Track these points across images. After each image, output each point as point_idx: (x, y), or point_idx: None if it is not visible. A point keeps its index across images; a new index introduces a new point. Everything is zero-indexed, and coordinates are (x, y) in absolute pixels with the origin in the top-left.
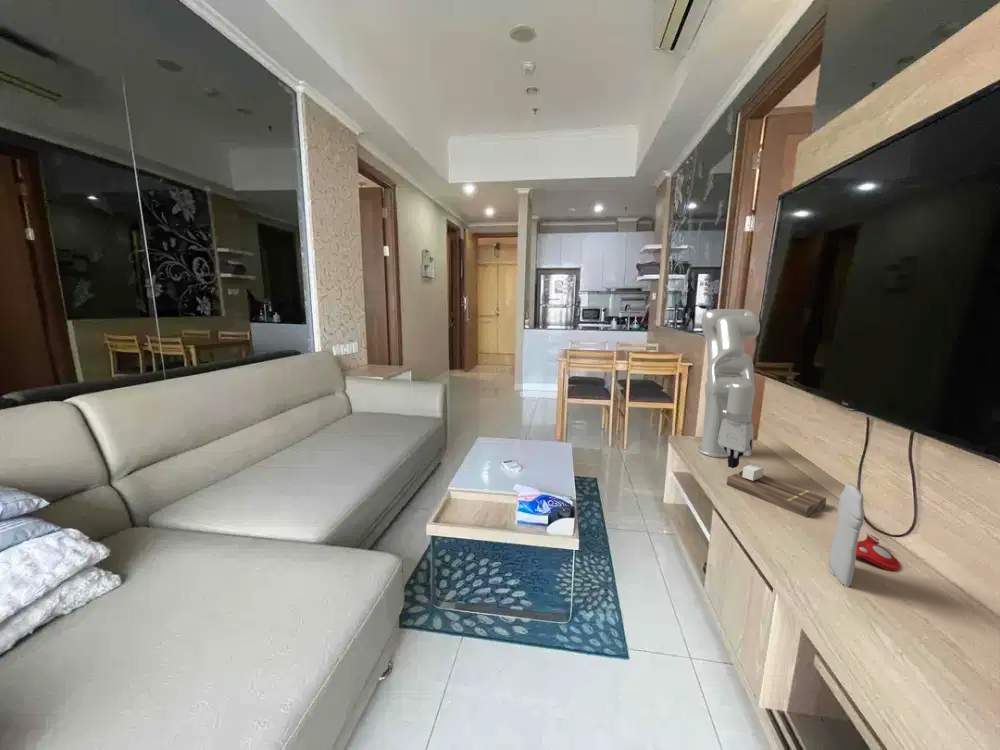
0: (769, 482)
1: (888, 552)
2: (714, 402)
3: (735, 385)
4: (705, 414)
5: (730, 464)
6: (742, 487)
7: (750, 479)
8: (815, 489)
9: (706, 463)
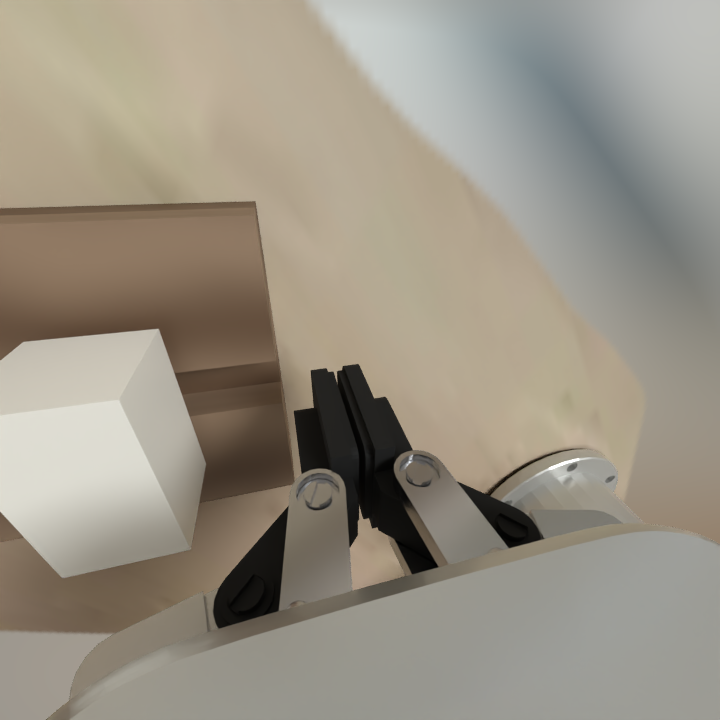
0: None
1: None
2: None
3: None
4: None
5: (344, 387)
6: (70, 211)
7: (51, 340)
8: (27, 608)
9: (526, 384)
